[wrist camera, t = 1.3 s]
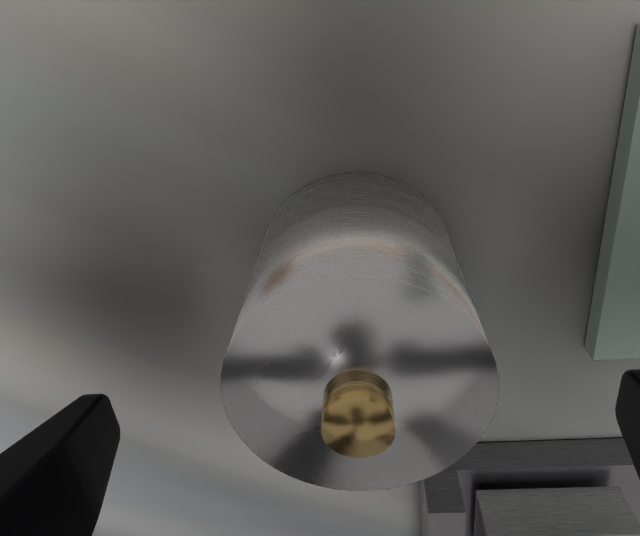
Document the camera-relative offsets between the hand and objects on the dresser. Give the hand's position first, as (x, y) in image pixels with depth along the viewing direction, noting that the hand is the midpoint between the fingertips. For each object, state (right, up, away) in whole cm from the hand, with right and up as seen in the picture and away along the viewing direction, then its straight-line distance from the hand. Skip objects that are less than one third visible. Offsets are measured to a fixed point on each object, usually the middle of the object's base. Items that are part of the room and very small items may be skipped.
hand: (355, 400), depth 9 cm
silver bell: (0, +2, +4) cm, 5 cm away
